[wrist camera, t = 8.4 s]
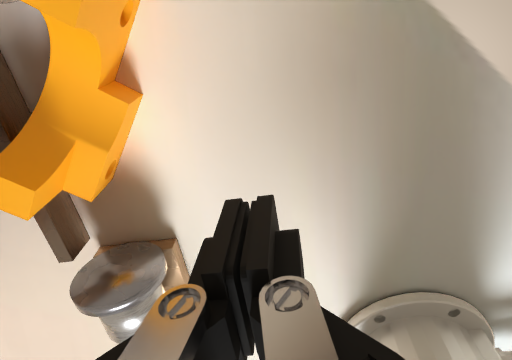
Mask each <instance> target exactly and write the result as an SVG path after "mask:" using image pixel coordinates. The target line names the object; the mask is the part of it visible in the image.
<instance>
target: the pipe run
mask: <svg viewBox="0 0 512 360" xmlns="http://www.w3.org/2000/svg"><path fill="white" fill-rule="evenodd" d="M17 1H21V0H0V4H4V3H11V2H17ZM30 116H31V114H30V112H29V110H28V108H27V106H26V104H25V102H24V100H23V98H22V95H21V93H20V91H19V89H18V87H17V85H16V83H15V81H14V79H13V77H12V75H11V72H10V70H9V68H8V66H7V64H6V62H5V60H4V58H3V56H2V54H1V52H0V153H1V152H2V151H3V150H4V149H5V148H6V147H7V146H8V145H9V144H10V143H11V142H12V141H13V140H14V139H15V138H16V136H17V135H18V134H19V133H20V131H21V130H22V129H23V127H24V126H25V124H26V123H27V121H28V119H29V118H30ZM34 218H35V219H36V221H37V223H38V225H39V227H40V229H41V230H42V232H43V234H44V236H45V238H46V239H47V241H48V243H49V245H50V247H51V249H52V250H53V252H54V254H55V256H56V258H57V260H58V261H59V263H60V262H69V261H73V260H74V259H75V257H76V256H77V255H78V254H79V252H80V251H81V250H82V248H83V247H84V246H85V244H86V243H87V242H88V241H89V239H90V238H89V236H88V234H87V232H86V229H85V227H84V225H83V223H82V221H81V219H80V217H79V215H78V213H77V211H76V209H75V206H74V204H73V202H72V200H71V198H70V196H69V194H68V192H66V191H64V190H62V191H61V192H60V193H58V194H57V195H56V196H55V197H54V198H53V199H52V200H51V201H49V202H48V203H47V204H46V205H45V206H44V207H43V208H42V209H40V210H39V211H38V212H37V213H36V214H35V215H34ZM189 278H190V277H189V274H188V271H187V268H186V265H185V262H184V259H183V256H182V253H181V250H180V247H179V244H178V241H177V238H174V239H165V240H156V241H148V242H133V243H127V244H122V245H113V246H104V247H100V248H99V250H98V251H97V253H96V254H95V255H94V257H93V259H92V260H91V261H89V262H88V263H87V264H86V265H85V266H84V267H83V268H82V269H81V270H80V271H79V272H78V273H77V274H76V276H75V277H74V279H73V281H72V283H71V286H70V296H71V298H72V300H73V302H74V304H75V306H76V307H77V309H78V310H79V311H80V312H81V313H83V314H85V315H88V316H94V317H99V318H100V320H101V322H102V324H103V326H104V328H105V330H106V332H107V334H108V335H109V337H110V339H111V340H113V341H114V342H116V343H119V344H120V343H122V342H123V341H125V340H126V339H128V338H129V337H131V336H132V335H134V334H135V332H136V331H137V329H138V328H139V326H140V325H141V323H142V322H143V320H144V318H145V317H146V315H147V314H148V312H149V311H150V309H151V308H152V306H153V305H154V303H155V302H156V300H157V299H158V298H159V297H160V296H161V295H162V294H163V293H165V292H166V291H167V290H169V289H171V288H173V287H176V286H179V285H183V284H188V281H189Z"/></svg>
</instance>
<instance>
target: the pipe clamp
mask: <svg viewBox="0 0 512 360" xmlns="http://www.w3.org/2000/svg"><path fill="white" fill-rule="evenodd" d="M21 1H23V2H25V3H26V4H28V5H30V6H32V7H34V8H36V9H38V10H39V11H40V12H41V14H42V15H43V17H44V19H45V22H46V24H47V28H48V31H49V37H50V63H49V69H48V74H47V78H46V82H45V85H44V88H43V91H42V94H41V96H40V98H39V101H38V103H37V105H36V107H35V109H34V111H33V113H32V115H31V116H30V118H29V119H28V121H27V123H26V124H25V126H24V127H23V129H22V130H21V131H20V133H19V134H18V135H17V136H16V138H15V139H14V140H13V141H12V142H11V143H10V144H9V145H8V146H7V147H6V148H5V149H4V150H3V151H2V152H1V153H0V210H2V211H5V212H7V213H10V214H12V215H15V216H17V217H20V218H22V219H25V220H27V221H28V220H29V219H30V218H31V217H33V216H34V215H35V214H36V213H37V212H38V211H39V210H40V209H42V208H43V207H44V206H45V205H46V204H47V203H48V202H49V201H51V200H52V199H53V198H54V197H55V196H56V195H57V194H58V193H60V192H61V191H62V190H64V191H66V192H69V193H71V194H73V195H76V196H78V197H80V198H83V199H85V200H87V201H90V202H92V201H93V200H94V199H95V198H96V197H97V196H98V194H99V193H100V192H101V191H102V190H103V189H104V188H105V187H106V186H107V185H108V183H109V182H110V181H111V180H112V179H113V176H114V173H115V171H116V168H117V165H118V162H119V160H120V157H121V154H122V151H123V149H124V146H125V143H126V140H127V138H128V135H129V132H130V129H131V126H132V124H133V121H134V118H135V115H136V113H137V110H138V107H139V104H140V102H141V99H142V96H143V94H141V93H139V92H137V91H135V90H133V89H131V88H129V87H127V86H125V85H123V84H121V83H119V82H117V81H115V78H116V75H117V72H118V69H119V66H120V63H121V59H122V56H123V53H124V50H125V47H126V44H127V40H128V37H129V34H130V31H131V28H132V25H133V22H134V18H135V15H136V12H137V9H138V6H139V3H140V0H21Z"/></svg>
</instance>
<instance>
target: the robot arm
mask: <svg viewBox="0 0 512 360" xmlns="http://www.w3.org/2000/svg"><path fill="white" fill-rule="evenodd" d="M254 344H255V345H256V349H257V353H258V355H259V359H260V360H512V351H502V350H501V349H499V348H494V347H495V344H494V335H493V332H492V329H491V327H490V325H489V324H488V322H487V321H486V319H485V318H484V316H483V315H482V314H481V313H480V312H479V311H478V310H477V309H476V308H475V307H474V306H472V305H471V304H469V303H467V302H466V301H464V300H461V299H459V298H456V297H453V296H450V295H445V294H440V293H428V292H417V293H406V294H401V295H396V296H392V297H388V298H385V299H383V300H380V301H377V302H375V303H373V304H371V305H369V306H367V307H366V308H364V309H362V310H361V311H359V312H358V313H357V314H356V315H354V316H353V317H352V318H351V319H350V320H349V321H348V322H346V321H344V320H342V319H341V318H339V317H337V316H336V315H334V314H333V313H331V312H329V311H328V310H326V309H324V308H323V307H321V306H320V303H319V300H318V297H317V294H316V291H315V289H314V287H313V286H312V284H311V283H310V282H308V281H307V280H306V279H304V268H303V258H302V250H301V242H300V235H299V229H292V230H282V231H279V225H278V219H277V213H276V207H275V200H274V196H273V195H266V196H258V197H257V201H252V203H251V208H249V204H248V202H243V201H242V199H241V198H239V199H231V200H226V201H225V203H224V206H223V209H222V212H221V215H220V218H219V221H218V224H217V227H216V230H215V233H214V236H213V237H211V238H205V239H204V241H203V243H202V246H201V249H200V252H199V254H198V257H197V260H196V262H195V265H194V268H193V270H192V273H191V276H190V278H189V281H188V284H183V285H179V286H176V287H173V288H171V289H169V290H167V291H166V292H165V293H163V294H162V295H161V296H160V297H159V298H158V299H157V300H156V302H155V303H154V305H153V306H152V308H151V309H150V311H149V312H148V314H147V315H146V317H145V318H144V320H143V322H142V323H141V325H140V326H139V328H138V329H137V331H136V332H135V334H134V335H132V336H131V337H129V338H128V339H126V340H125V341H123V342H122V343H120V344H118V345H117V346H115V347H114V348H112V349H111V350H109V351H108V352H106V353H105V354H103V355H102V356H100V357H99V358H97V359H96V360H247V356H249V355H253V353H254Z"/></svg>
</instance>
